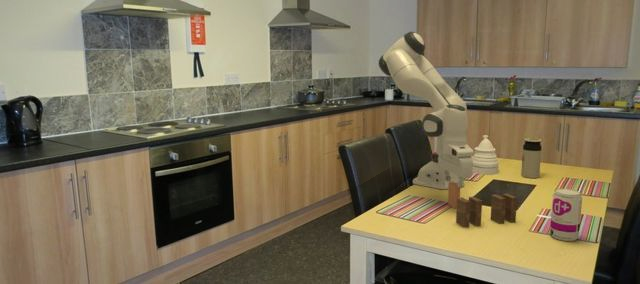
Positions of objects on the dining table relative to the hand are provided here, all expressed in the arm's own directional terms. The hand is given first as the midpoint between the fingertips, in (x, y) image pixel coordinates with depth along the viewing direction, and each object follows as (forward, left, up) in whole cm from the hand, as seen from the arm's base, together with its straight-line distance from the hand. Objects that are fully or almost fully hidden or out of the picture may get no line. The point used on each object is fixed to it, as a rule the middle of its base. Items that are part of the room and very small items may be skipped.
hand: (453, 183), depth 181 cm
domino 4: (+18, -9, -9) cm, 22 cm away
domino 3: (+12, -15, -9) cm, 21 cm away
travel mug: (+19, +64, -9) cm, 68 cm away
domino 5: (+21, -6, -9) cm, 24 cm away
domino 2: (+8, -18, -9) cm, 22 cm away
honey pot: (-2, +63, -9) cm, 64 cm away
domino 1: (0, 0, -9) cm, 9 cm away
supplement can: (+39, -14, -9) cm, 43 cm away
